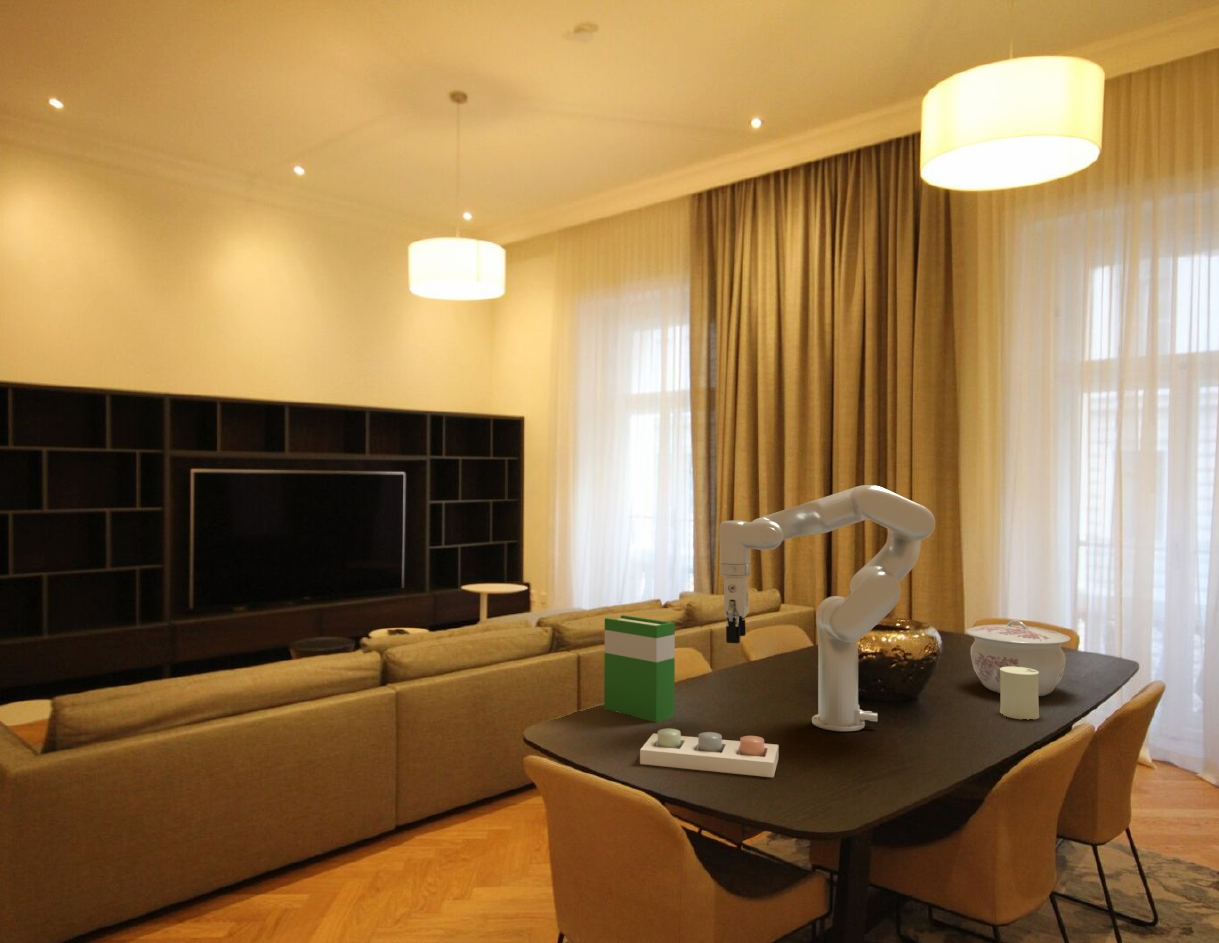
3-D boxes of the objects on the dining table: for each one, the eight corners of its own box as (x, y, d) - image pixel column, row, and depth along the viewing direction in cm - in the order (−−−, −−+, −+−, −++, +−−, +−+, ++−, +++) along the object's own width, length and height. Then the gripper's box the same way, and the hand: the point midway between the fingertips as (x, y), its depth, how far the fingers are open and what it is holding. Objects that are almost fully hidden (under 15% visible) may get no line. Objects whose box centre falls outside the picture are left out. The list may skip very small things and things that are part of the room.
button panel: (778, 758, 180) (778, 744, 180) (773, 777, 168) (773, 762, 168) (653, 746, 187) (653, 733, 188) (640, 763, 176) (640, 749, 176)
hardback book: (604, 709, 218) (604, 618, 219) (622, 703, 224) (623, 615, 224) (656, 722, 207) (656, 626, 207) (674, 716, 212) (674, 622, 212)
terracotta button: (765, 755, 177) (765, 736, 177) (762, 763, 172) (762, 743, 172) (741, 753, 178) (741, 734, 178) (738, 760, 174) (738, 741, 174)
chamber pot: (1071, 709, 219) (1070, 631, 219) (959, 696, 233) (959, 622, 233) (1072, 687, 243) (1071, 616, 244) (971, 676, 257) (970, 609, 257)
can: (1044, 720, 209) (1044, 673, 209) (1005, 718, 211) (1004, 671, 211) (1033, 711, 218) (1033, 665, 218) (995, 708, 220) (995, 663, 220)
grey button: (723, 751, 179) (723, 733, 180) (719, 759, 175) (719, 740, 175) (700, 749, 181) (700, 731, 181) (696, 756, 176) (696, 737, 176)
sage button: (682, 747, 182) (682, 729, 182) (678, 754, 177) (678, 736, 177) (660, 745, 183) (660, 727, 183) (655, 752, 179) (655, 734, 179)
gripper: (745, 574, 196) (746, 646, 196) (754, 567, 213) (755, 633, 212) (713, 573, 198) (715, 645, 198) (725, 566, 215) (726, 632, 215)
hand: (736, 639), depth 205 cm, fingers open, 9 cm apart
